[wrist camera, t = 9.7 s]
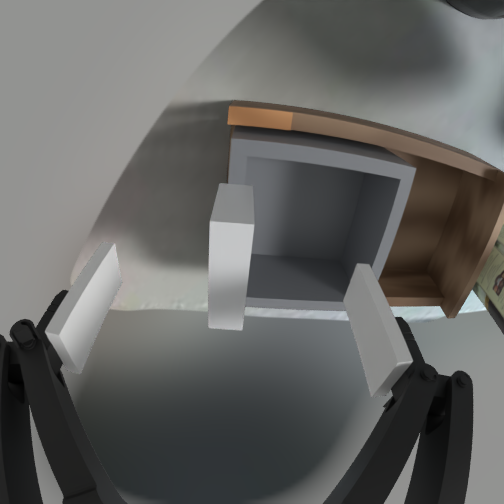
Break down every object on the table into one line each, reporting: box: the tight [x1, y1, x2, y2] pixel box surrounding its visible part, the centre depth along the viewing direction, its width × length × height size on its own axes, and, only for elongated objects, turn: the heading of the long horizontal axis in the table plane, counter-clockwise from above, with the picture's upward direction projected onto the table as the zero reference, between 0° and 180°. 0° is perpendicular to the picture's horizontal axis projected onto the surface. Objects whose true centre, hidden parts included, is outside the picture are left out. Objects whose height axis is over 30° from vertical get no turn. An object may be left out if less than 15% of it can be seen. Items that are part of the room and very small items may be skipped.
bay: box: [227, 100, 504, 318], centre depth 24 cm, size 16×25×8 cm, turn 84°
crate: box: [208, 125, 416, 330], centre depth 20 cm, size 13×12×12 cm
